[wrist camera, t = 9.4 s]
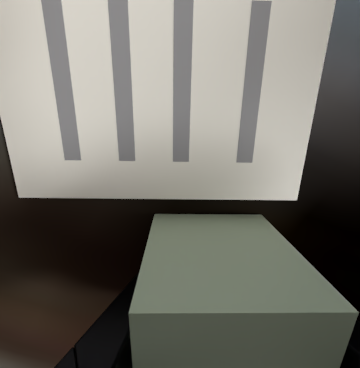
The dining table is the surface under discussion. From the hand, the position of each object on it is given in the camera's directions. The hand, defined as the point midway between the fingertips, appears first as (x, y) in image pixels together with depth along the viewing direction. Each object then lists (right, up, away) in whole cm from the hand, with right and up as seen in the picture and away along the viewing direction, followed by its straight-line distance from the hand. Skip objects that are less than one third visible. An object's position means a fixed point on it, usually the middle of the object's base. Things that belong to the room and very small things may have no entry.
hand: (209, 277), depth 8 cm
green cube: (0, 0, +1) cm, 1 cm away
